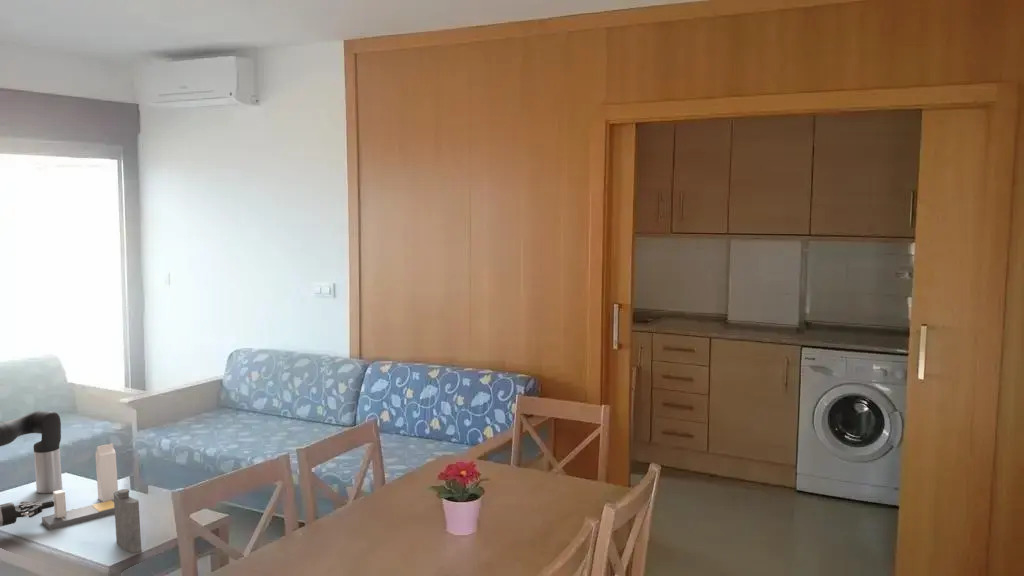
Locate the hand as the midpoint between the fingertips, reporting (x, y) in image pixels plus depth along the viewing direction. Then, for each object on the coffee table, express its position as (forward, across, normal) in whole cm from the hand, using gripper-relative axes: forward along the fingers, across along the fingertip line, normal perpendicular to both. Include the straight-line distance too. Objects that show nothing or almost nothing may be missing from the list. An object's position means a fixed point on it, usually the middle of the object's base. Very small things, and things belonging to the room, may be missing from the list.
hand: (53, 503), depth 297 cm
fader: (+2, 0, +5) cm, 6 cm away
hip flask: (+12, -40, +8) cm, 43 cm away
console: (+10, 0, +8) cm, 13 cm away
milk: (+23, +14, +8) cm, 28 cm away
